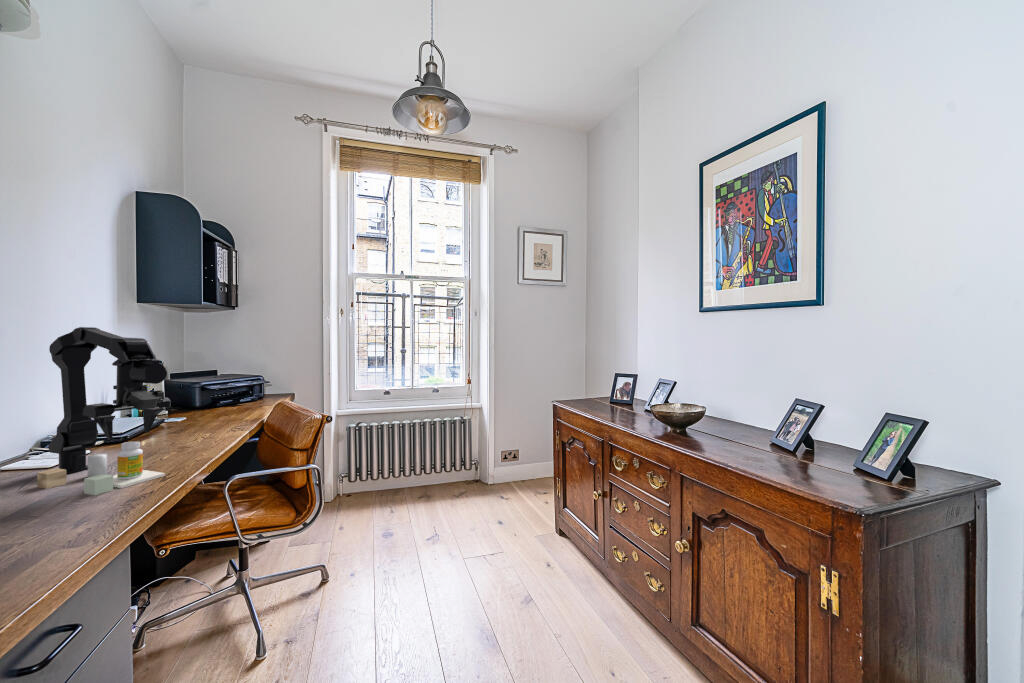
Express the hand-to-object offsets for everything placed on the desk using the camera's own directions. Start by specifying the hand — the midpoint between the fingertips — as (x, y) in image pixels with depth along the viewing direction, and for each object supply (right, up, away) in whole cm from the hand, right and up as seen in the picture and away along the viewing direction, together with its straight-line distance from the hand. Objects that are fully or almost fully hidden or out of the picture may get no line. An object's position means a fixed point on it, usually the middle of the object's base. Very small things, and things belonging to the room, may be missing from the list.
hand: (129, 436), depth 121 cm
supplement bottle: (+1, -12, -1) cm, 12 cm away
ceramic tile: (+1, -12, -1) cm, 12 cm away
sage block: (+1, -13, -10) cm, 16 cm away
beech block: (-16, -12, -6) cm, 21 cm away
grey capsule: (-11, -12, +2) cm, 16 cm away
